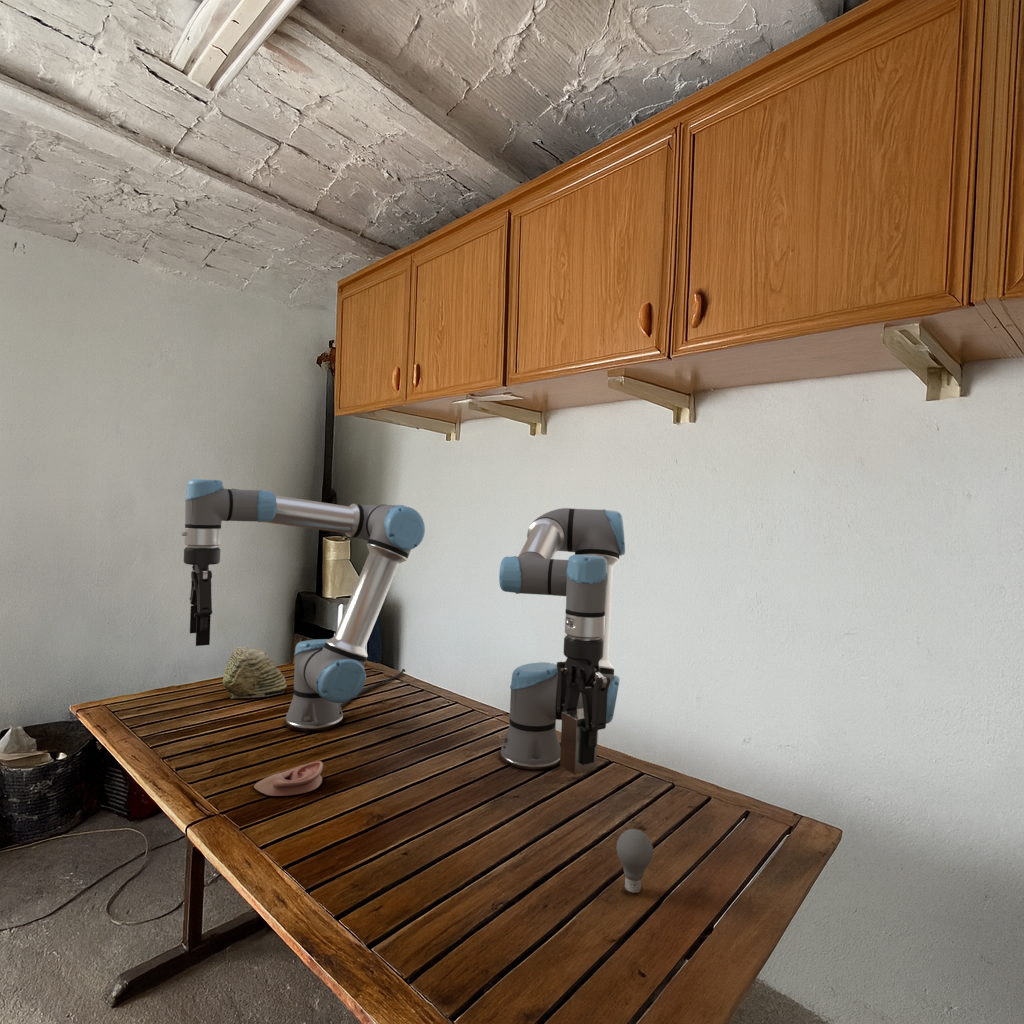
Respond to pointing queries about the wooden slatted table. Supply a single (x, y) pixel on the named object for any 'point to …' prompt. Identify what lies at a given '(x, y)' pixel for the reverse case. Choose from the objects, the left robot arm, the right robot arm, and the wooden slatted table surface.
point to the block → (574, 742)
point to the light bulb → (634, 857)
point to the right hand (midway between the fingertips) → (578, 757)
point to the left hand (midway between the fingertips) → (199, 638)
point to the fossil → (252, 674)
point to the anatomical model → (292, 781)
